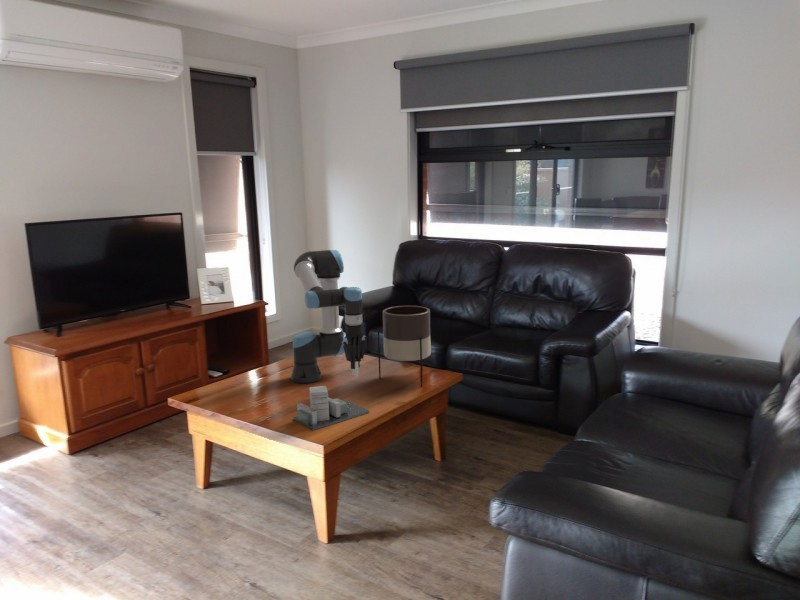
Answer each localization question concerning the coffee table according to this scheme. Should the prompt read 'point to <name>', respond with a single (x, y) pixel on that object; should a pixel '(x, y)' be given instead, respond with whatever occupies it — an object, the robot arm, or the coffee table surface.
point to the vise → (309, 416)
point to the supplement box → (319, 402)
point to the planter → (406, 334)
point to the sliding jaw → (337, 407)
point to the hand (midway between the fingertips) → (355, 375)
